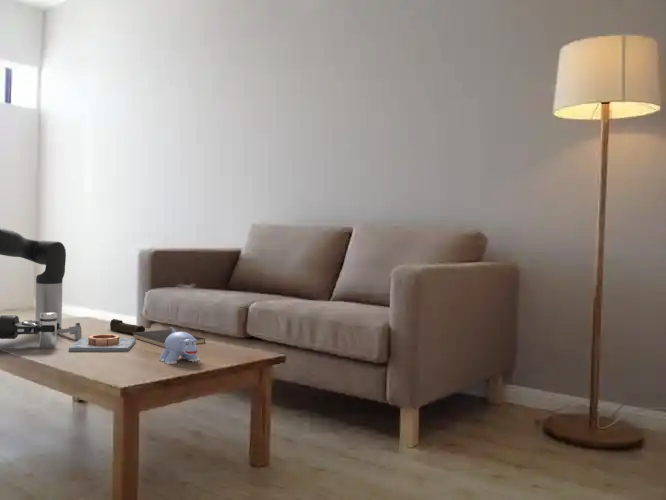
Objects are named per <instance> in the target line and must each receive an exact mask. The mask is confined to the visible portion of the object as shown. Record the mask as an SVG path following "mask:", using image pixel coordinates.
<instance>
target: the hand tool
mask: <svg viewBox="0 0 666 500" xmlns="http://www.w3.org/2000/svg"><path fill="white" fill-rule="evenodd" d="M109 327H110V330H111V331H112V332H114V333H115V332H116V333H120V332H121V333H122V332H123V333H127V334H131V335H133V334H132V333H135V332H146V328H145V326H144V325H136V324H130V323H126V322H123V320H121V319H117V318H113V319H111V320H110V324H109Z"/></svg>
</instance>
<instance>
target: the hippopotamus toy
mask: <svg viewBox="0 0 666 500" xmlns="http://www.w3.org/2000/svg"><path fill="white" fill-rule="evenodd" d="M168 328H169V329H172V334H170V335H169V336H168V337H167V338H166V340H165V347H164V349H163V351H162V353H161V355H160V357H159V359H158V361H159V362H162V363H164V364H166V365H174V364H178V361H177V360H178V359H179V356H180V357H181V358H182V359H184V360H187V361H189V362H191V361H192V362H194V361H195V362H199V361H201V359H200V358H199V357H198V355H197V354H198V351H199V348H198V346H197V344H196V342H197V339H195V338H194V337H193V336H192V335H193V334H190V333H189V332H186V331H179V332H176V331H177V330H176V329H175V328H174V327H173V326H169V327H168ZM175 330H176V331H175Z"/></svg>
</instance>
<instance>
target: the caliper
mask: <svg viewBox="0 0 666 500" xmlns="http://www.w3.org/2000/svg"><path fill="white" fill-rule="evenodd" d="M66 333H67V334H68V333H69V336H70V335H74V339H75V340H76V341H78V340H79V339H81V338H82V325H81V323H80V322H75V323H74V326H70V327H69V328H59V329H58V330H57V335H59V334H66Z"/></svg>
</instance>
